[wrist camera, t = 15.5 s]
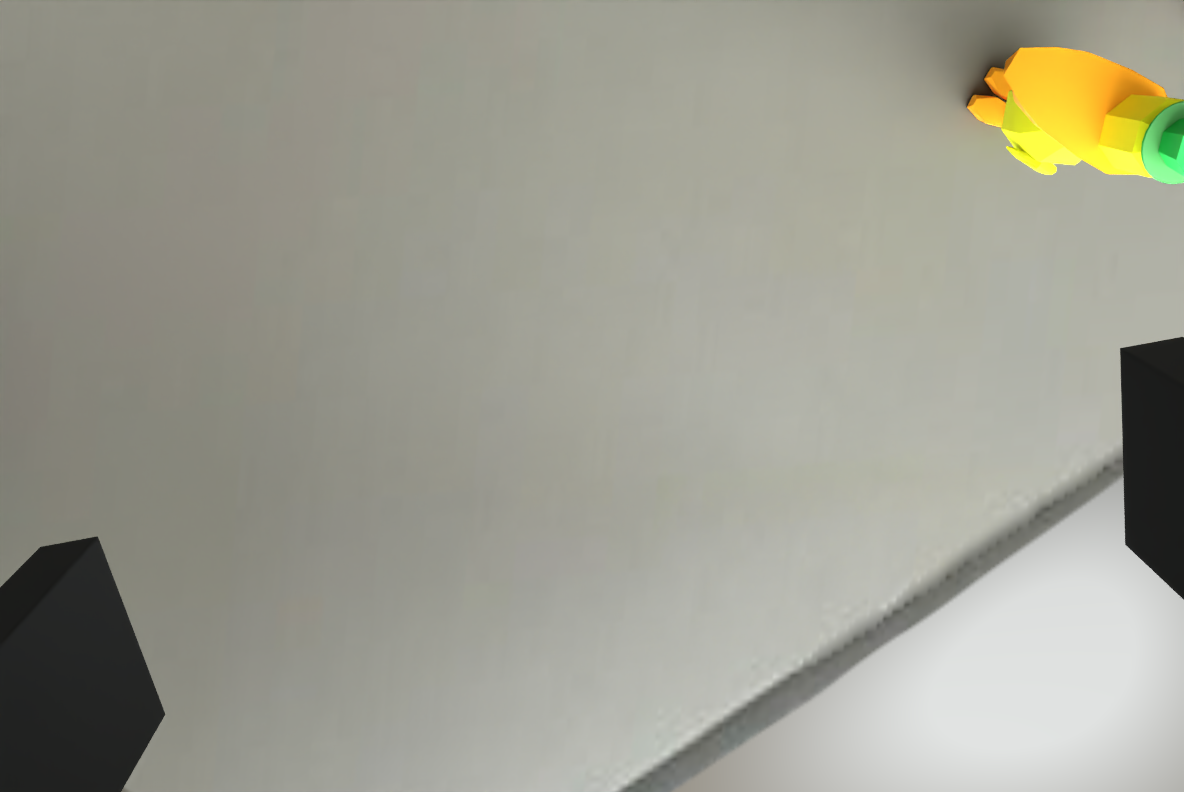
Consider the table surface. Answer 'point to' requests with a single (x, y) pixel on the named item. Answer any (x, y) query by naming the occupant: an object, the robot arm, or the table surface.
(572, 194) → the table surface
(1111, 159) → the toy figure
